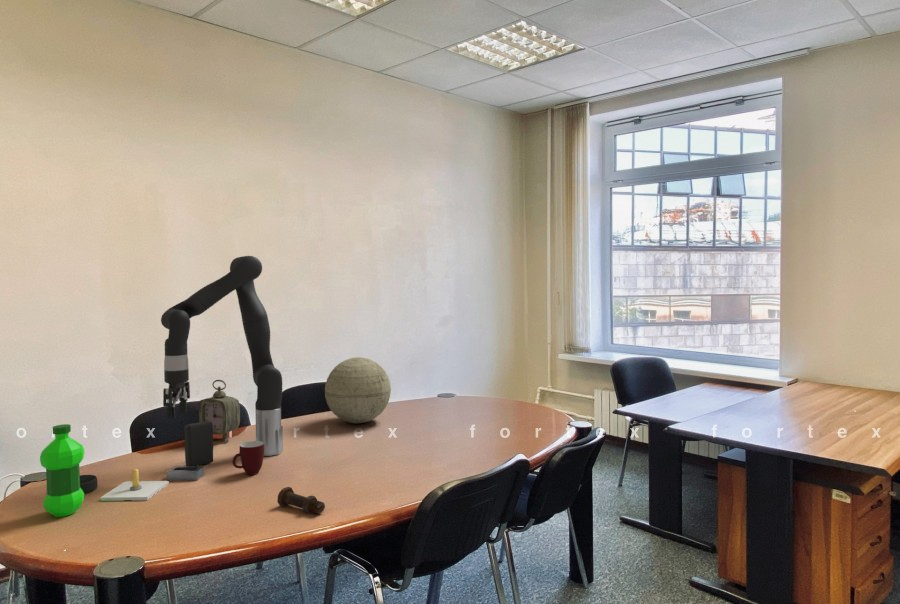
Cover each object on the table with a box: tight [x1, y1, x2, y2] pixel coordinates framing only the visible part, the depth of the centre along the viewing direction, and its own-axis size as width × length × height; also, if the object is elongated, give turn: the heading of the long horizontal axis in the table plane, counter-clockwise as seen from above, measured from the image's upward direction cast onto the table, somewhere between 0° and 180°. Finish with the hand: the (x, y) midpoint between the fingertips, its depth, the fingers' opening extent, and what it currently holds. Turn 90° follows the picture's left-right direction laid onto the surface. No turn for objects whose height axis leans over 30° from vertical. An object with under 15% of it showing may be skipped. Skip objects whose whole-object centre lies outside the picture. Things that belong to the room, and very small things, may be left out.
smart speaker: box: [80, 474, 99, 495], centre depth 185 cm, size 9×9×4 cm
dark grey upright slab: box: [183, 421, 214, 466], centre depth 210 cm, size 9×4×15 cm, turn 134°
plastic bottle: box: [39, 423, 85, 518], centre depth 167 cm, size 10×10×25 cm
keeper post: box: [99, 468, 170, 502], centre depth 183 cm, size 14×14×7 cm
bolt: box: [277, 486, 326, 514], centre depth 169 cm, size 6×5×15 cm
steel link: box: [166, 465, 205, 481], centre depth 197 cm, size 10×6×3 cm, turn 91°
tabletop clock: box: [198, 379, 241, 444], centre depth 242 cm, size 14×9×25 cm, turn 68°
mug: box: [232, 440, 265, 476], centre depth 200 cm, size 10×8×10 cm
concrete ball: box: [324, 356, 392, 424], centre depth 270 cm, size 30×30×30 cm
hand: (177, 415), depth 201 cm, fingers open, 8 cm apart
